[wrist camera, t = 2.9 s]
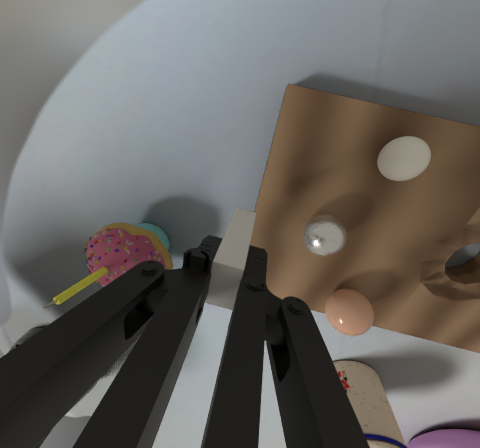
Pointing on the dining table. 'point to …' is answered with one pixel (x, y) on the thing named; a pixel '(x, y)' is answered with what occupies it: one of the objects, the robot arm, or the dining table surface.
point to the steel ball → (324, 235)
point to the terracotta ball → (349, 312)
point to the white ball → (404, 158)
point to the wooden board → (374, 214)
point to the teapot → (447, 439)
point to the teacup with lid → (370, 404)
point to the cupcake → (119, 254)
